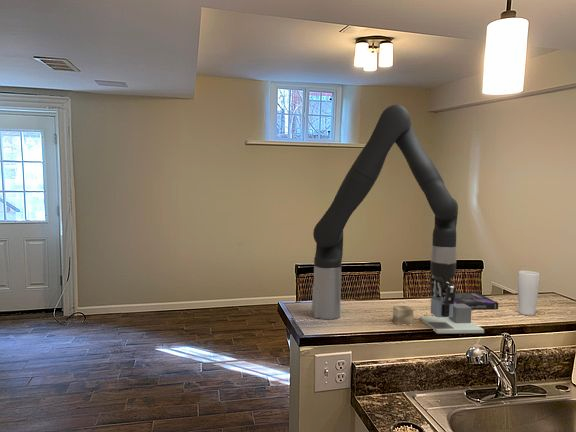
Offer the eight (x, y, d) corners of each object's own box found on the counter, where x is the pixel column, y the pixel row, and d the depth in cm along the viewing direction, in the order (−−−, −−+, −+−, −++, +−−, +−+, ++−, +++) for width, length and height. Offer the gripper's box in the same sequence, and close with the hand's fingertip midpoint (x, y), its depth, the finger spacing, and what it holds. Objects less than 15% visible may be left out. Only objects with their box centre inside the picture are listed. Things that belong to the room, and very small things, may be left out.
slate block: (437, 317, 138) (437, 301, 138) (430, 312, 143) (431, 297, 143) (452, 317, 139) (453, 301, 138) (445, 312, 144) (446, 297, 143)
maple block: (397, 325, 144) (398, 310, 144) (392, 320, 149) (393, 305, 149) (412, 325, 145) (413, 309, 144) (407, 320, 150) (407, 305, 149)
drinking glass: (536, 312, 160) (539, 271, 159) (538, 317, 154) (540, 275, 153) (515, 310, 163) (517, 269, 162) (516, 315, 157) (518, 273, 156)
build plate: (437, 333, 136) (437, 314, 136) (419, 319, 150) (420, 301, 150) (484, 332, 138) (485, 313, 137) (462, 318, 152) (463, 301, 151)
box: (448, 312, 162) (498, 311, 164) (448, 303, 161) (499, 301, 163) (431, 301, 176) (478, 300, 178) (431, 293, 175) (479, 291, 177)
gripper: (423, 256, 146) (421, 307, 148) (441, 264, 132) (439, 320, 133) (445, 256, 147) (443, 307, 148) (466, 264, 133) (463, 320, 134)
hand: (441, 313), depth 141 cm, fingers closed on slate block, 5 cm apart
